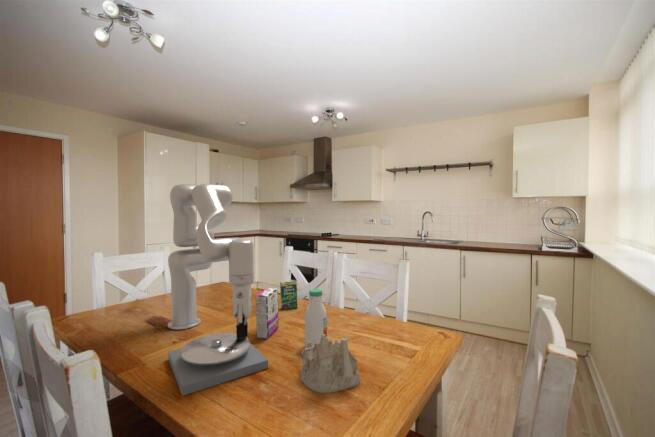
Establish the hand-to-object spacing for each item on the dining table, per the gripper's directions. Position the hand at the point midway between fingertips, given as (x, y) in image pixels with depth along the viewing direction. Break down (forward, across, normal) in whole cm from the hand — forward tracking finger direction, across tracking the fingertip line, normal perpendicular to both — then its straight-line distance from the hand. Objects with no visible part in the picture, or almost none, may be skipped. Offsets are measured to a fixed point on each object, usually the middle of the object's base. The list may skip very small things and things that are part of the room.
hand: (242, 336), depth 97 cm
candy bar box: (+8, +22, -7) cm, 24 cm away
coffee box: (+8, +51, -17) cm, 54 cm away
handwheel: (+4, 0, +8) cm, 9 cm away
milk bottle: (+8, +7, -24) cm, 27 cm away
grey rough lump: (+9, -13, -26) cm, 30 cm away
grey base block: (+8, 0, +8) cm, 11 cm away
